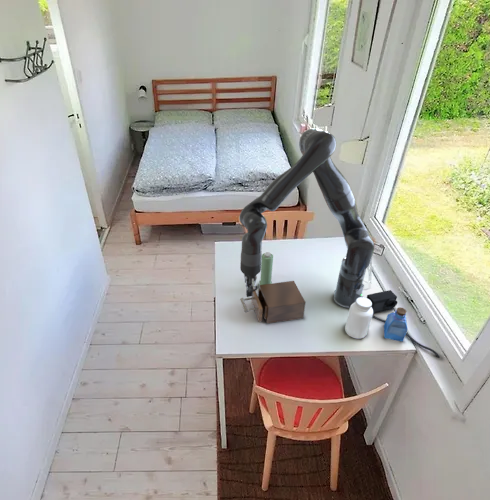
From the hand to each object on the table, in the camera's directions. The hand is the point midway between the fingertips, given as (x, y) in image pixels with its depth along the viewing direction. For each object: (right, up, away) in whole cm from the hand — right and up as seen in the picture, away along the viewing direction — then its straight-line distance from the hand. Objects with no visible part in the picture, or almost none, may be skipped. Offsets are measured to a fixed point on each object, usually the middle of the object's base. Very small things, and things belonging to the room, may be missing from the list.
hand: (249, 295), depth 147 cm
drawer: (+7, -7, +6) cm, 11 cm away
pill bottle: (+40, -13, -4) cm, 42 cm away
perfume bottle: (+53, -14, -5) cm, 55 cm away
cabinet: (+13, -7, +7) cm, 16 cm away
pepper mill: (+9, +1, +18) cm, 20 cm away
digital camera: (+53, -6, +5) cm, 53 cm away
